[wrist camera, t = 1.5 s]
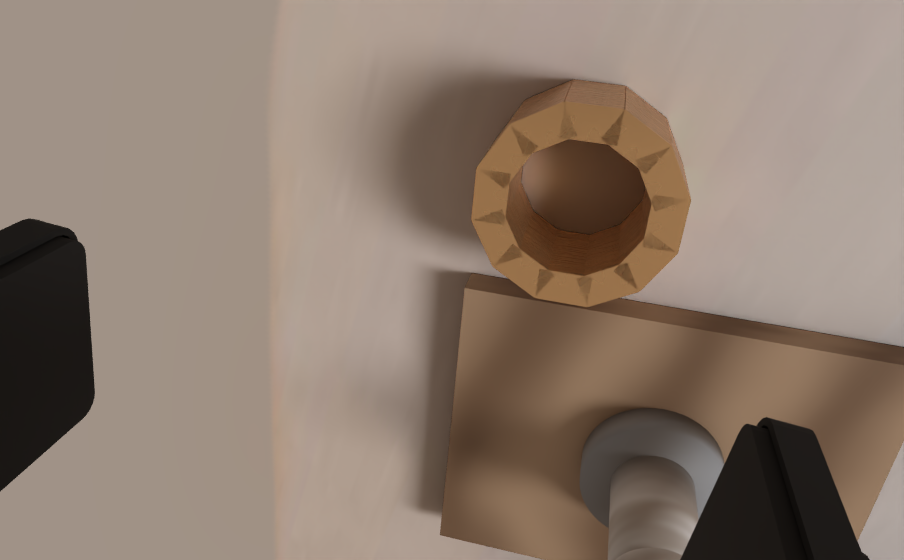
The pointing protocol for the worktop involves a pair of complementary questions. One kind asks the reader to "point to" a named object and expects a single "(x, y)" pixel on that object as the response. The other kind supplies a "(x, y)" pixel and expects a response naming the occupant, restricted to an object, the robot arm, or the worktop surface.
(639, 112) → the bronze ring
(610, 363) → the piston stand
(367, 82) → the worktop surface
